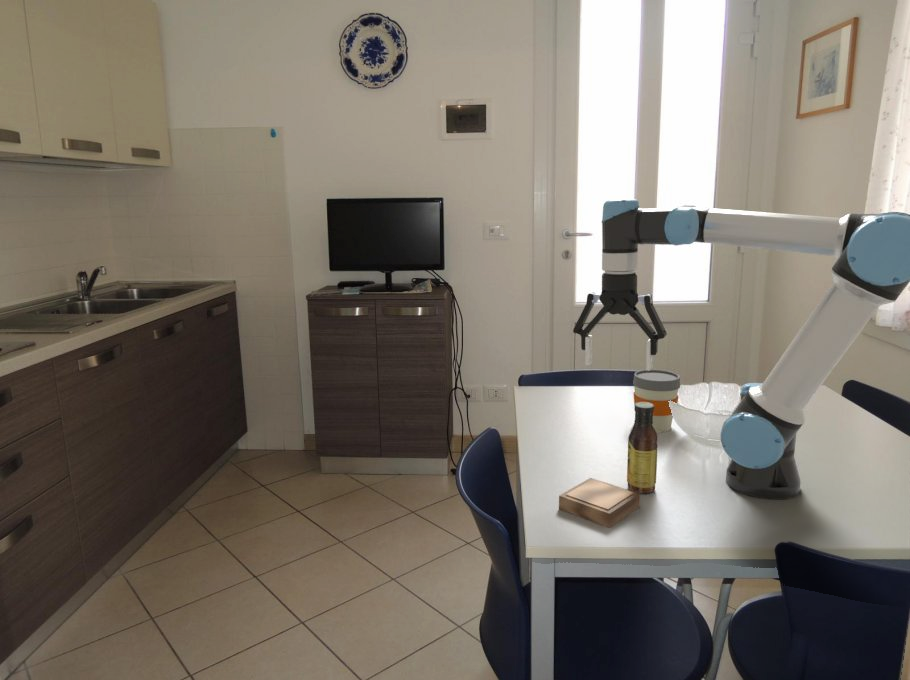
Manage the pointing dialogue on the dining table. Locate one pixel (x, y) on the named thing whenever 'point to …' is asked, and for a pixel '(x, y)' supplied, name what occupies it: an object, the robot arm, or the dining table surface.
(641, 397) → the reusable coffee cup
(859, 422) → the dining table surface
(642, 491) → the sauce bottle
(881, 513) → the dining table surface
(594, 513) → the pedestal
